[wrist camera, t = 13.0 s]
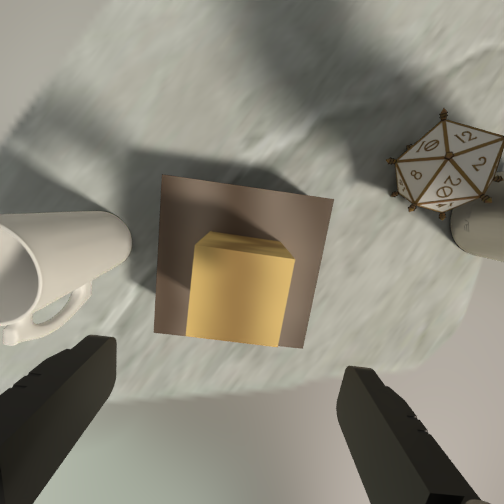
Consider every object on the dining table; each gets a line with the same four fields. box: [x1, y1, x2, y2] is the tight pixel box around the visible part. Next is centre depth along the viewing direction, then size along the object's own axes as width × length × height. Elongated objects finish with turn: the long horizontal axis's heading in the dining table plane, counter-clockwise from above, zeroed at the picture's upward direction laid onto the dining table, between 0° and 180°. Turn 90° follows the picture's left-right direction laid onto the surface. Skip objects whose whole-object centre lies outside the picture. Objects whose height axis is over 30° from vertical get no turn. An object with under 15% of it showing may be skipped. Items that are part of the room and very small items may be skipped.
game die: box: [386, 108, 504, 221], centre depth 21 cm, size 9×8×10 cm
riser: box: [154, 174, 334, 349], centre depth 23 cm, size 14×14×6 cm
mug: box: [0, 211, 132, 345], centre depth 20 cm, size 10×7×12 cm, turn 171°
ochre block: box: [186, 231, 295, 347], centre depth 17 cm, size 6×6×6 cm
